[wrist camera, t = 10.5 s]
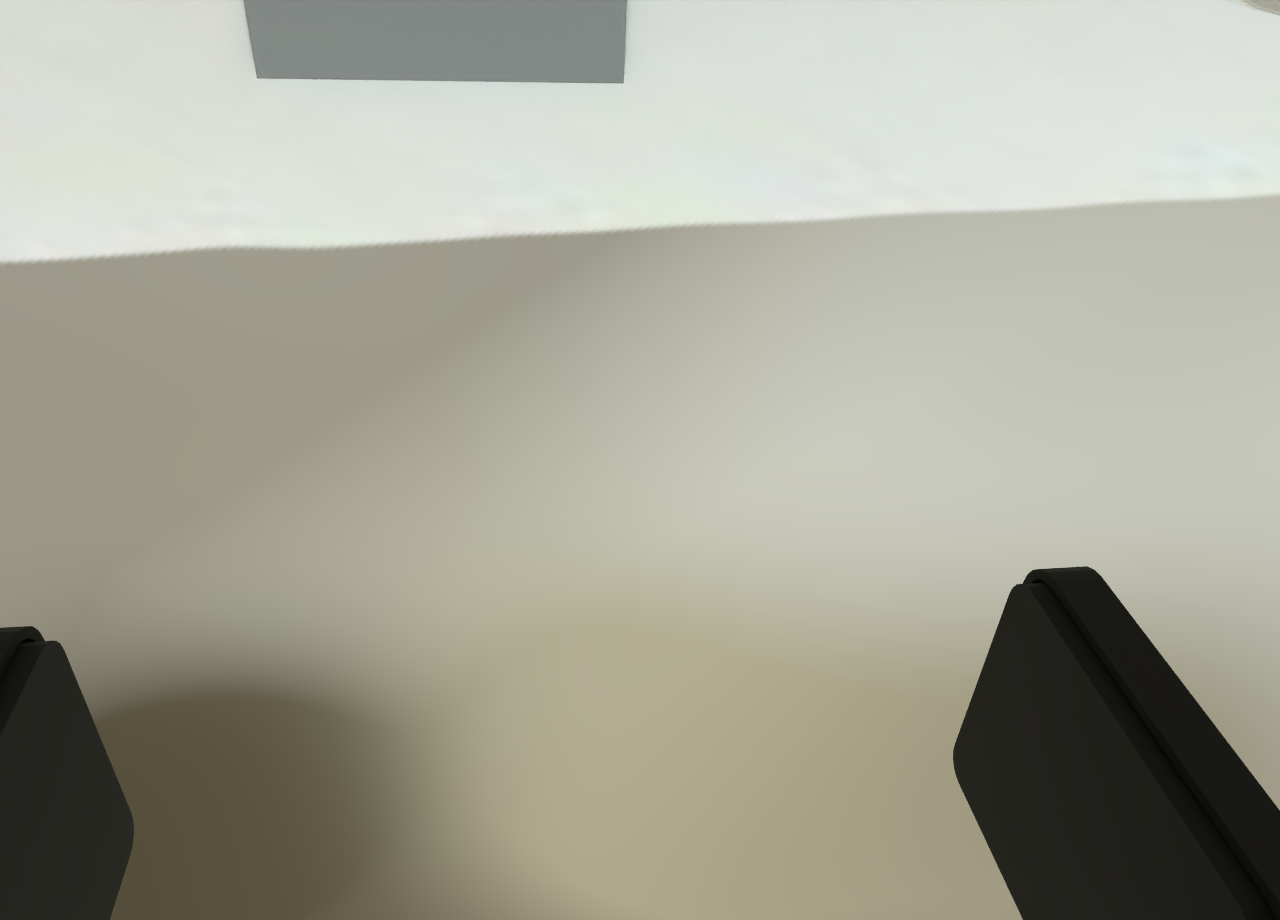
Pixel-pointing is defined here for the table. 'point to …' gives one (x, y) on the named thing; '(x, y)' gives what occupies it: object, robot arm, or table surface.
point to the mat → (439, 40)
